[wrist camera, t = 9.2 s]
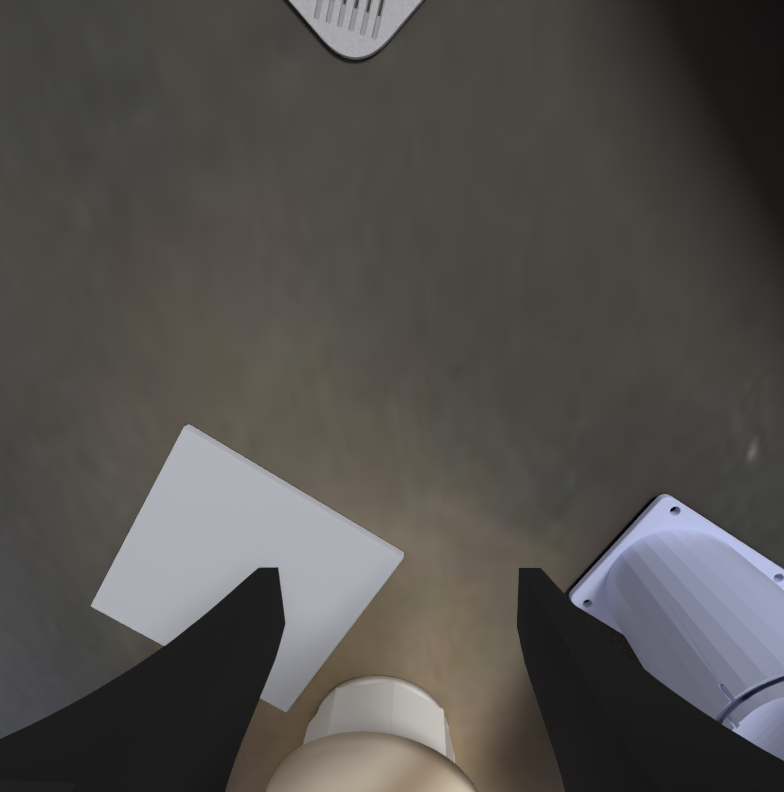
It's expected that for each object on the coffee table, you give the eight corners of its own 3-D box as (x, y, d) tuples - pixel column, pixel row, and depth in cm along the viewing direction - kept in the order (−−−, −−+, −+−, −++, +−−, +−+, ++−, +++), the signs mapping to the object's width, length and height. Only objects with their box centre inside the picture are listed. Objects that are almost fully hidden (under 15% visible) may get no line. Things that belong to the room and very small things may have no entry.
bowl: (476, 718, 26) (488, 810, 22) (401, 797, 29) (398, 896, 24) (359, 652, 26) (346, 732, 21) (291, 738, 28) (266, 828, 23)
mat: (404, 552, 24) (403, 557, 23) (288, 705, 27) (286, 712, 27) (188, 424, 23) (183, 427, 22) (96, 600, 26) (90, 606, 26)
